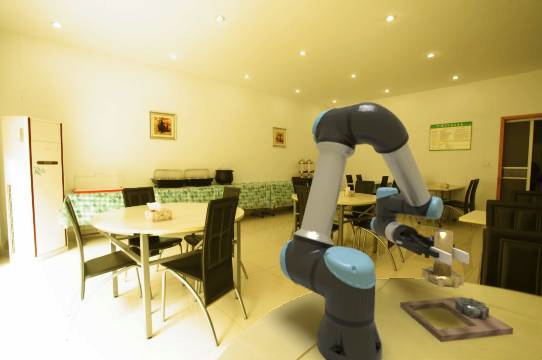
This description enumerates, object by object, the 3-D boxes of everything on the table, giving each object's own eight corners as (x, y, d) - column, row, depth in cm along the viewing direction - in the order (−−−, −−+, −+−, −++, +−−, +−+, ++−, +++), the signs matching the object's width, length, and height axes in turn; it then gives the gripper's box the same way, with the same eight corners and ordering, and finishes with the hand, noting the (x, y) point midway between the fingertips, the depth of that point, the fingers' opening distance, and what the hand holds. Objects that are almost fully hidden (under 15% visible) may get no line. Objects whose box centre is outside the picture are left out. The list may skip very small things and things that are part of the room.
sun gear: (471, 321, 70) (472, 312, 70) (449, 306, 78) (449, 298, 78) (495, 318, 71) (496, 310, 71) (471, 303, 79) (471, 296, 79)
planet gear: (440, 289, 67) (441, 237, 66) (414, 273, 77) (415, 227, 76) (473, 286, 69) (475, 235, 68) (443, 271, 78) (445, 226, 77)
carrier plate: (440, 341, 65) (440, 335, 64) (400, 306, 80) (400, 302, 80) (512, 333, 67) (512, 328, 67) (459, 301, 83) (460, 296, 83)
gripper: (424, 244, 91) (487, 271, 68) (378, 246, 89) (428, 275, 66) (424, 223, 91) (489, 243, 68) (378, 225, 89) (429, 246, 66)
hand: (459, 259), depth 67 cm, fingers closed on planet gear, 4 cm apart
